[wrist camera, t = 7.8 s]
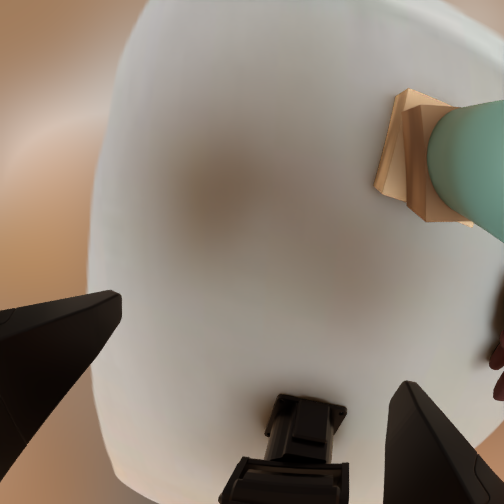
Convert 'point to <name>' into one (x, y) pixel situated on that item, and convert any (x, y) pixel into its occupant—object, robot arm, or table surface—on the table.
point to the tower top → (423, 164)
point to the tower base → (400, 148)
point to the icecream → (497, 361)
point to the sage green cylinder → (471, 164)
